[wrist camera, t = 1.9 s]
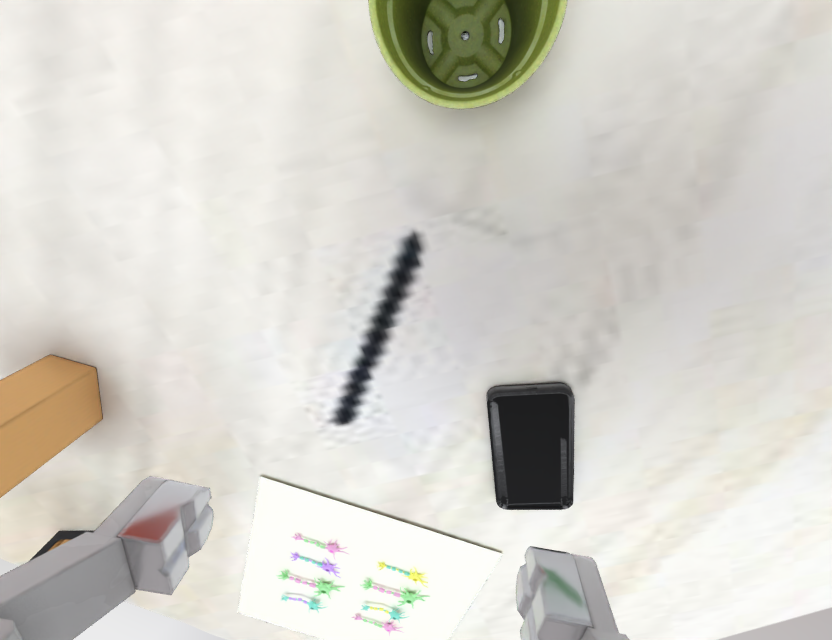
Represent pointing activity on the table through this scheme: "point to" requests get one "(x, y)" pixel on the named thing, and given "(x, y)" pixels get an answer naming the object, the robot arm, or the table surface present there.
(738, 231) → the table surface
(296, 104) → the table surface
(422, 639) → the printed paper
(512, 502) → the phone
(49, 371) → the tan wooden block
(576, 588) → the robot arm
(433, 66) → the plant pot
